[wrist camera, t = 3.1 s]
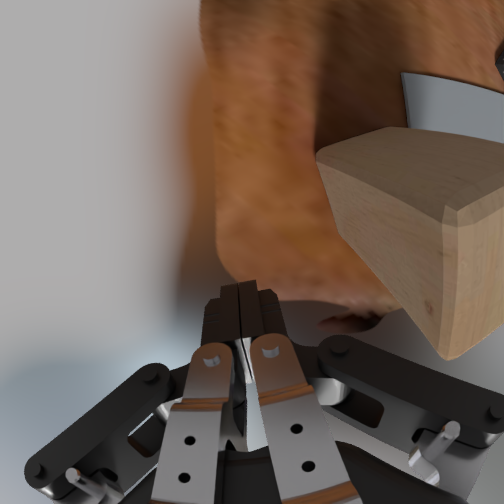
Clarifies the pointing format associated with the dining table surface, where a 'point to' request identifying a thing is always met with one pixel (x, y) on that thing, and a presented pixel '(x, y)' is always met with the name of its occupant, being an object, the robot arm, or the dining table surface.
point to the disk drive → (500, 64)
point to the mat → (453, 107)
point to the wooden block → (426, 225)
